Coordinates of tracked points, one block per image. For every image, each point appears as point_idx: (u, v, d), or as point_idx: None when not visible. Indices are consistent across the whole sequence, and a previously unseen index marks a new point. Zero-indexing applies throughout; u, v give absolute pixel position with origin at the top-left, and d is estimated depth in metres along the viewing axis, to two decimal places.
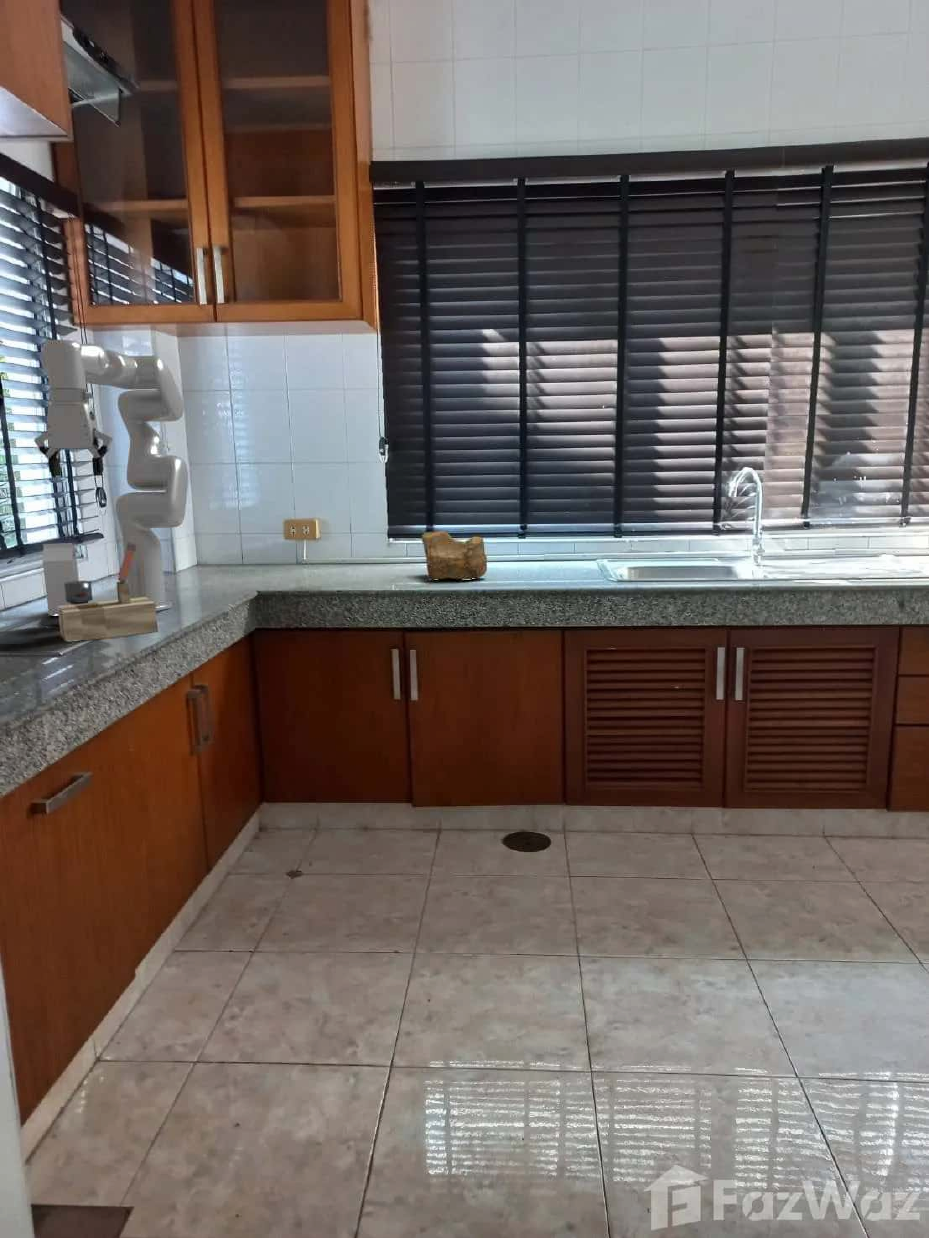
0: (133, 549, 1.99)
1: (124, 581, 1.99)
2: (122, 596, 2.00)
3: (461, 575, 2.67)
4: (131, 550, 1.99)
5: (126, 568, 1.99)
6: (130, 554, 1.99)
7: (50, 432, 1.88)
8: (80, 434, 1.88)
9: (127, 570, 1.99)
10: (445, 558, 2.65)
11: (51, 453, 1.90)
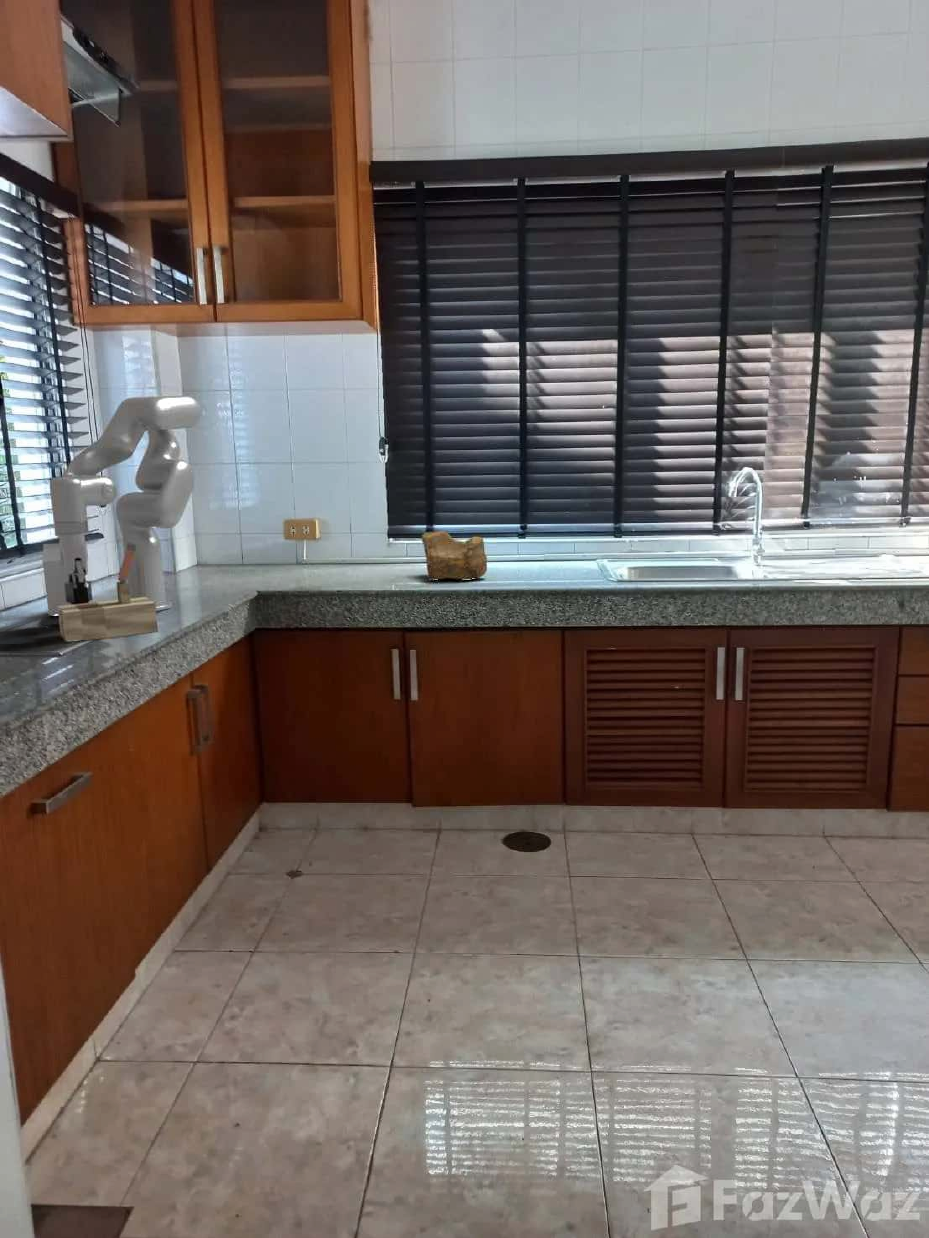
0: (133, 549, 1.99)
1: (124, 581, 1.99)
2: (122, 596, 2.00)
3: (461, 575, 2.67)
4: (131, 550, 1.99)
5: (126, 568, 1.99)
6: (130, 554, 1.99)
7: None
8: None
9: (127, 570, 1.99)
10: (445, 558, 2.65)
11: None
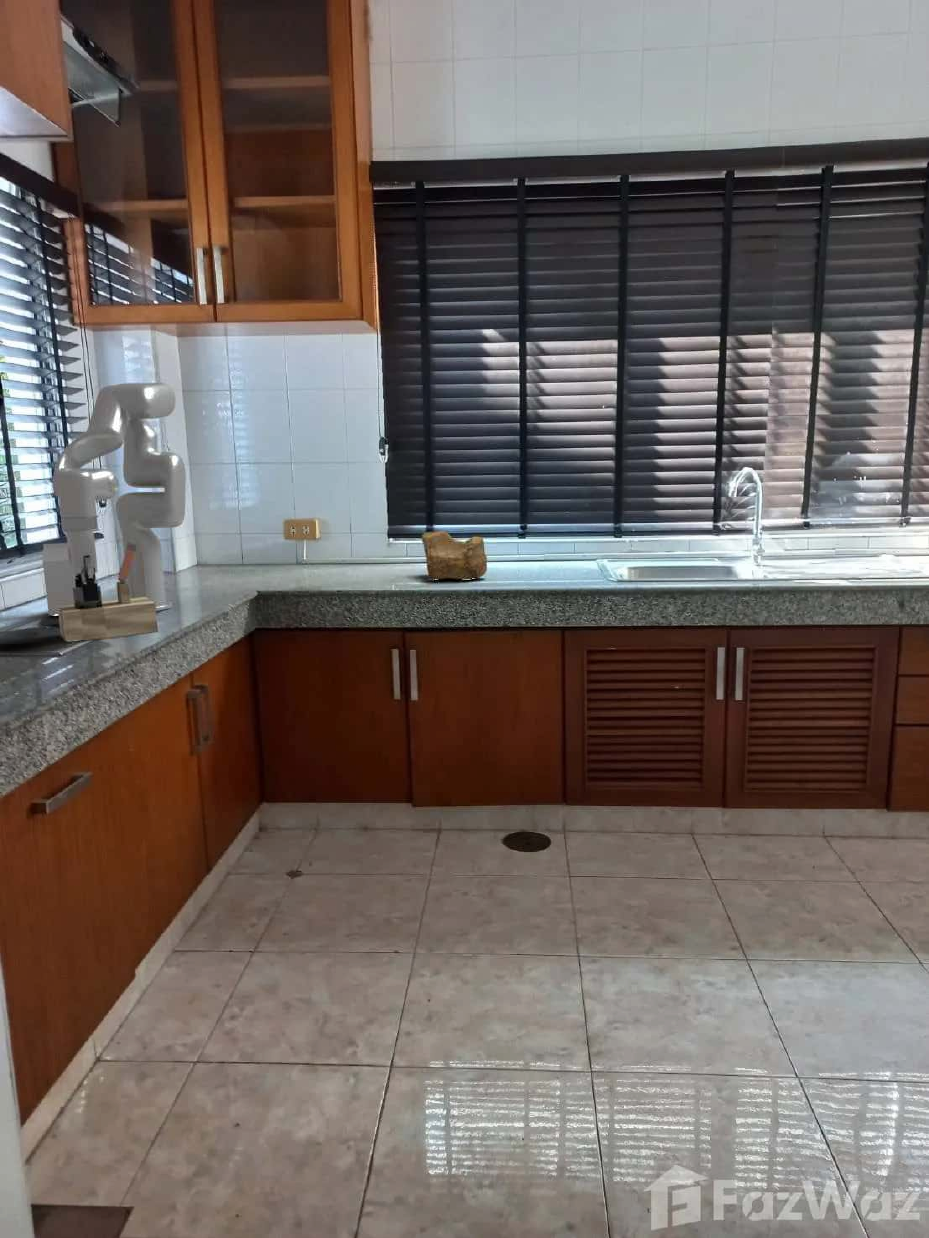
0: (133, 549, 1.99)
1: (124, 581, 1.99)
2: (122, 596, 2.00)
3: (461, 575, 2.67)
4: (131, 550, 1.99)
5: (126, 568, 1.99)
6: (130, 554, 1.99)
7: None
8: None
9: (127, 570, 1.99)
10: (445, 558, 2.65)
11: None
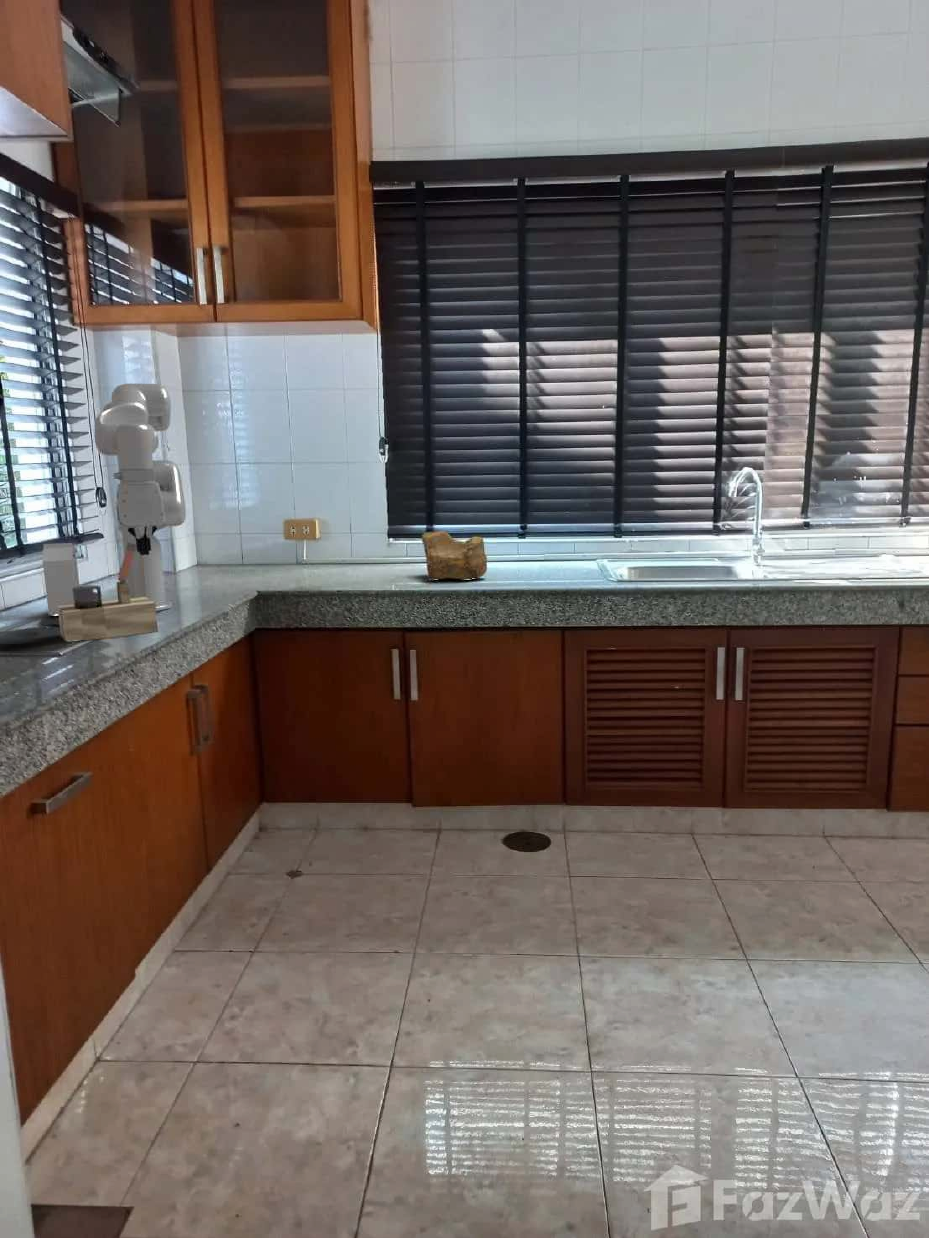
0: (133, 549, 1.99)
1: (124, 581, 1.99)
2: (122, 596, 2.00)
3: (461, 575, 2.67)
4: (131, 550, 1.99)
5: (126, 568, 1.99)
6: (130, 554, 1.99)
7: None
8: None
9: (127, 570, 1.99)
10: (445, 558, 2.65)
11: None
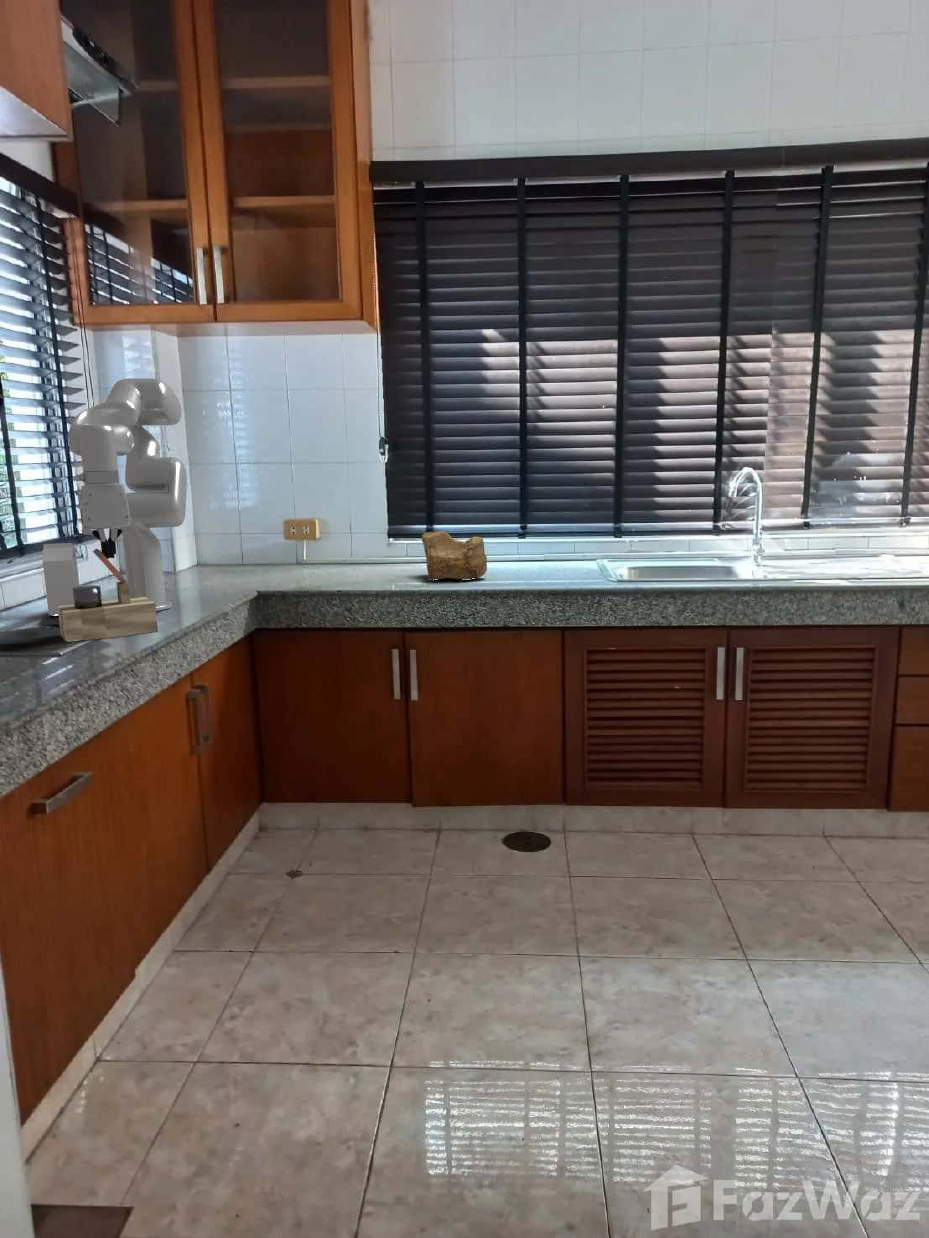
0: (101, 554, 1.95)
1: (124, 581, 1.99)
2: (122, 596, 2.00)
3: (461, 575, 2.67)
4: (101, 557, 1.95)
5: (114, 571, 1.98)
6: (104, 560, 1.96)
7: None
8: None
9: (116, 572, 1.98)
10: (445, 558, 2.65)
11: None
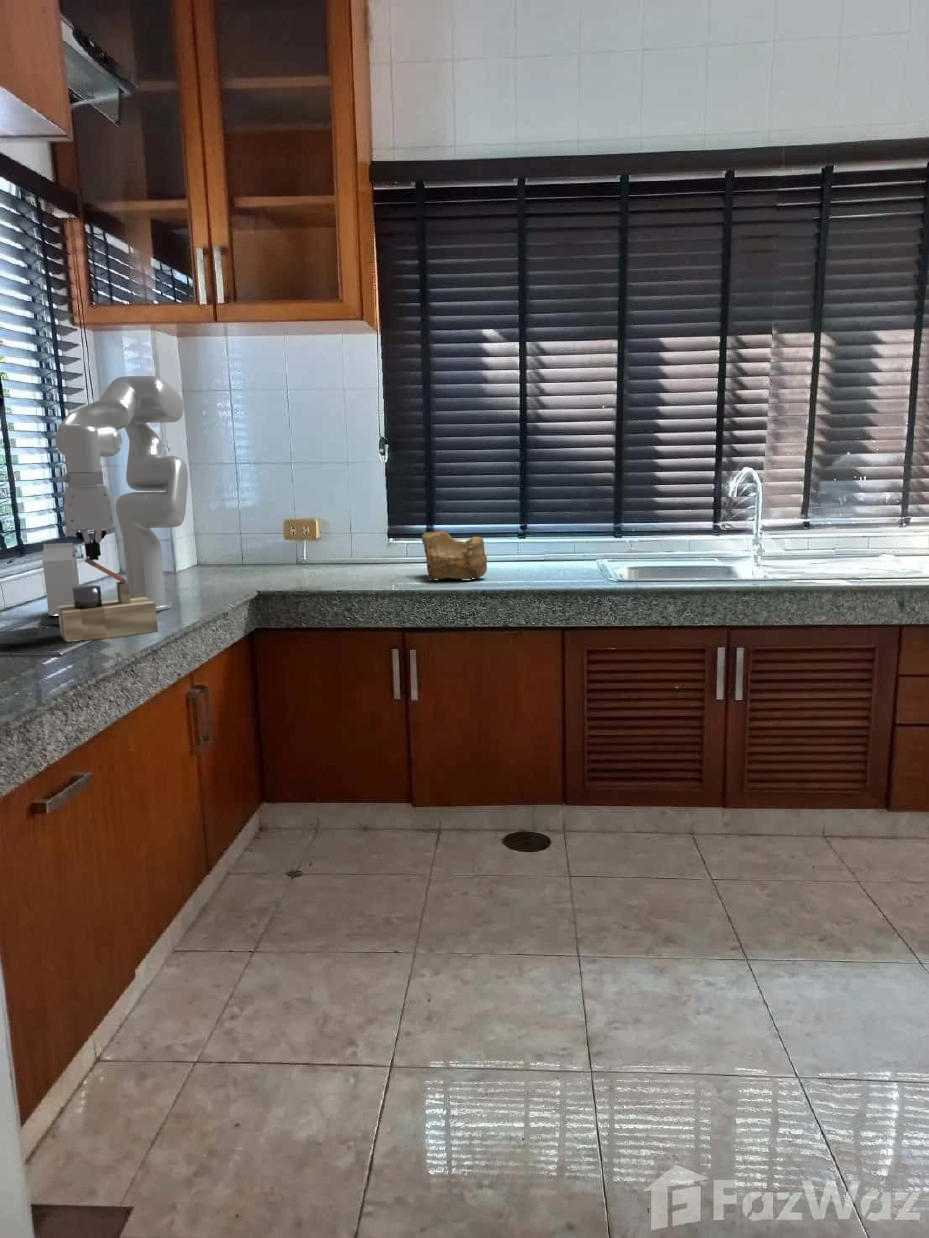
0: (93, 562, 1.95)
1: (124, 581, 1.99)
2: (122, 596, 2.00)
3: (461, 575, 2.67)
4: (94, 565, 1.95)
5: (111, 575, 1.97)
6: (98, 567, 1.96)
7: None
8: None
9: (114, 574, 1.98)
10: (445, 558, 2.65)
11: None
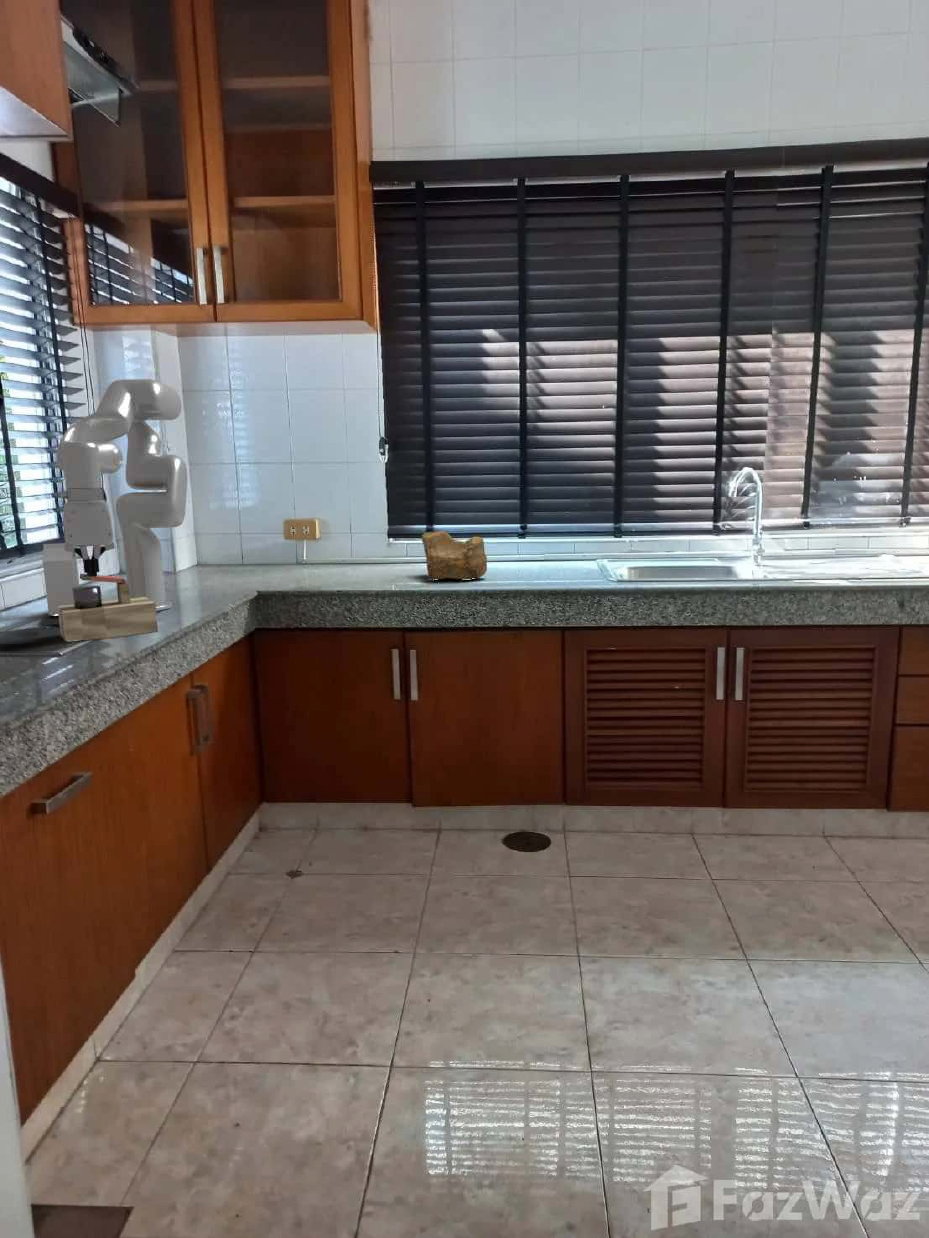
0: (88, 577, 1.95)
1: (124, 581, 1.99)
2: (122, 596, 2.00)
3: (461, 575, 2.67)
4: (90, 579, 1.95)
5: (110, 581, 1.97)
6: (94, 579, 1.96)
7: None
8: None
9: (112, 579, 1.98)
10: (445, 558, 2.65)
11: None
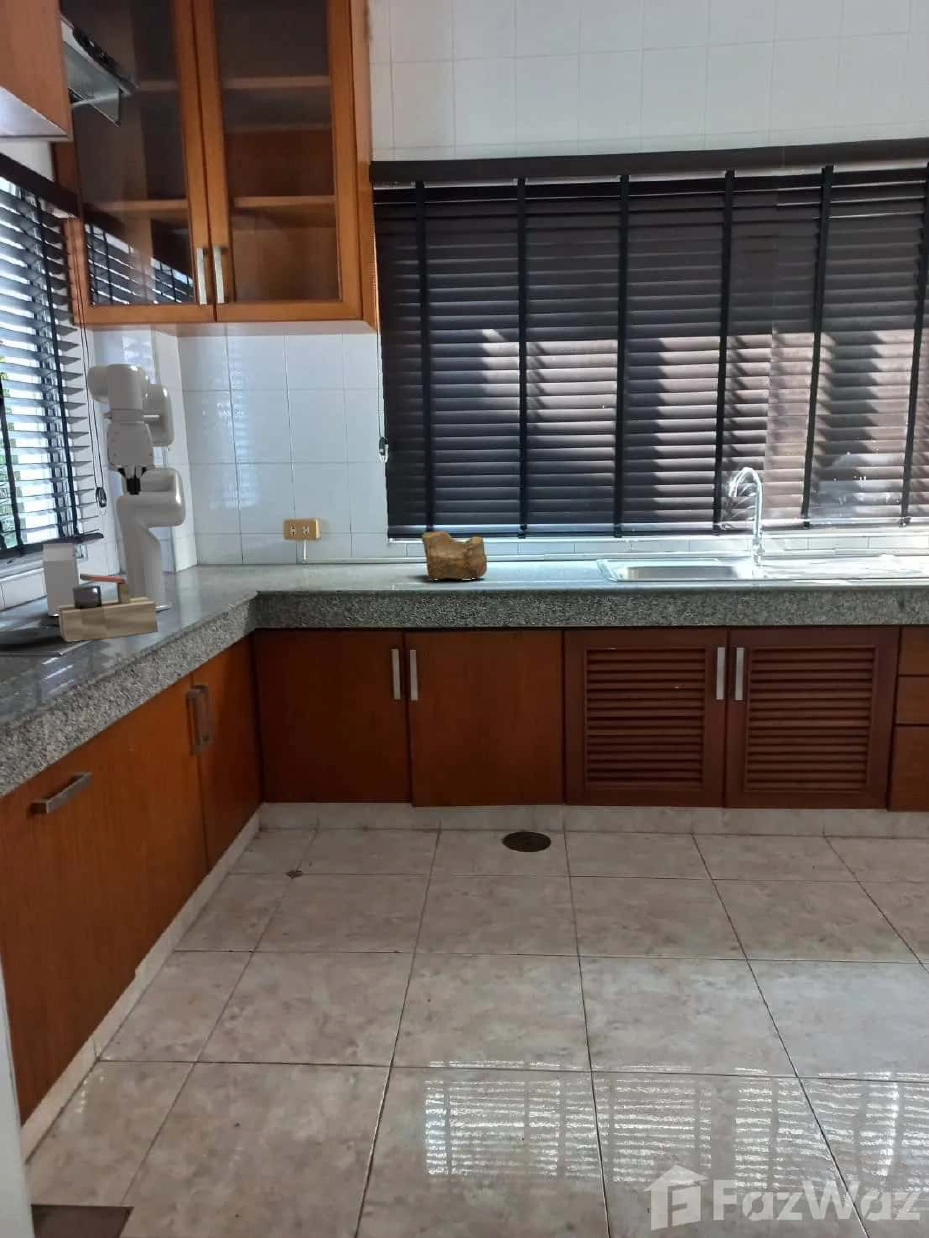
0: (88, 577, 1.95)
1: (124, 581, 1.99)
2: (122, 596, 2.00)
3: (461, 575, 2.67)
4: (90, 579, 1.95)
5: (110, 581, 1.97)
6: (94, 579, 1.96)
7: None
8: None
9: (112, 579, 1.98)
10: (445, 558, 2.65)
11: None
